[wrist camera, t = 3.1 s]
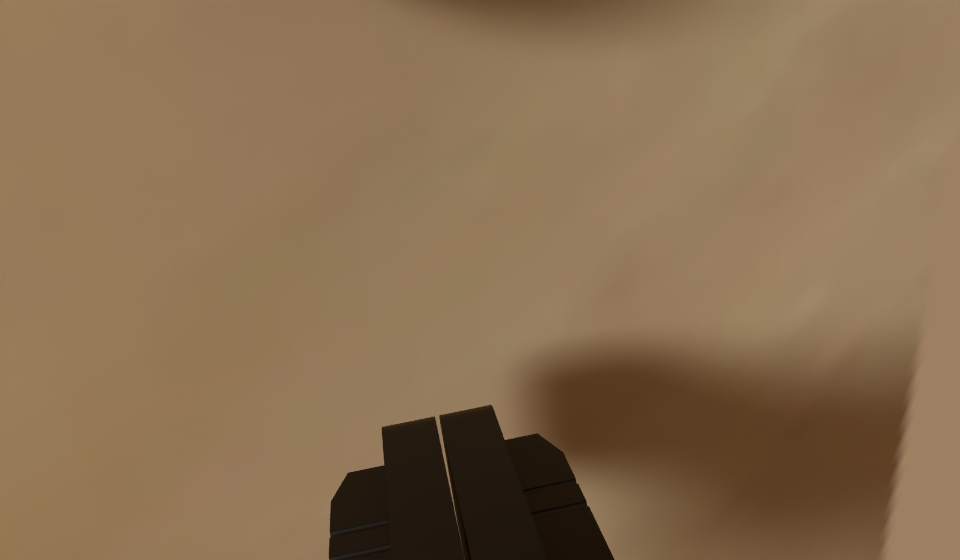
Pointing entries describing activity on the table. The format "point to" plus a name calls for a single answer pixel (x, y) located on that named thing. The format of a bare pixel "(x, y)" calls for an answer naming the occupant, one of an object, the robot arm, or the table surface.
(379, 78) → the table surface
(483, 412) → the robot arm
